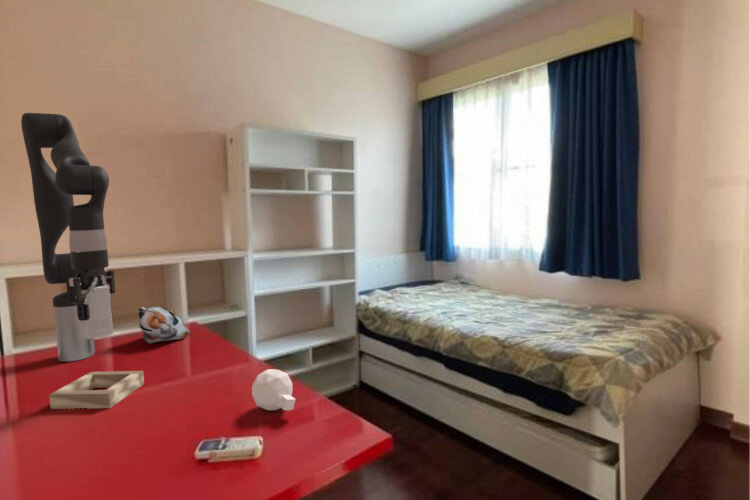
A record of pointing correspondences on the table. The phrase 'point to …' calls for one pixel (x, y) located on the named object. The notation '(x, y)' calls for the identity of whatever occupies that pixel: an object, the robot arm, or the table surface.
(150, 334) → the lucky cat figurine
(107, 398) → the square wooden frame
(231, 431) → the table surface
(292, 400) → the perfume bottle
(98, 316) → the skincare box
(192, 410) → the table surface
